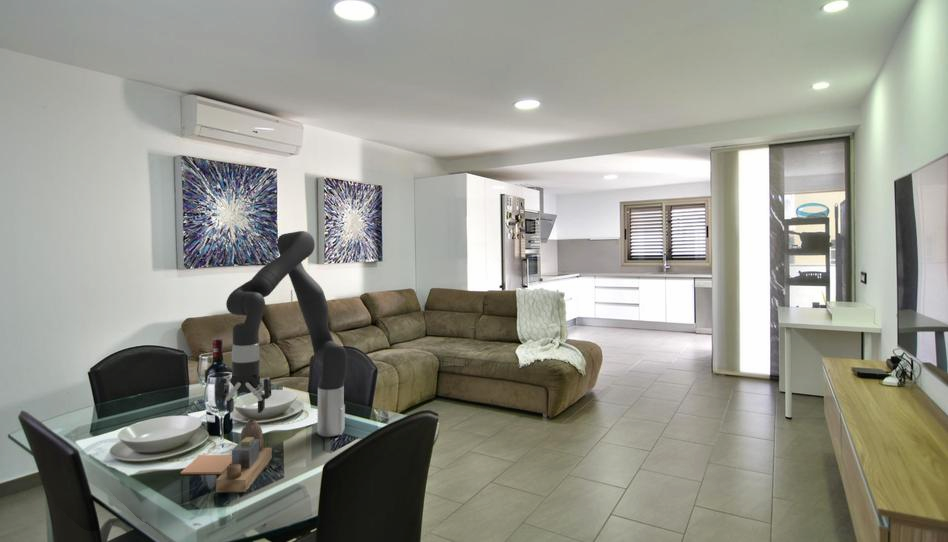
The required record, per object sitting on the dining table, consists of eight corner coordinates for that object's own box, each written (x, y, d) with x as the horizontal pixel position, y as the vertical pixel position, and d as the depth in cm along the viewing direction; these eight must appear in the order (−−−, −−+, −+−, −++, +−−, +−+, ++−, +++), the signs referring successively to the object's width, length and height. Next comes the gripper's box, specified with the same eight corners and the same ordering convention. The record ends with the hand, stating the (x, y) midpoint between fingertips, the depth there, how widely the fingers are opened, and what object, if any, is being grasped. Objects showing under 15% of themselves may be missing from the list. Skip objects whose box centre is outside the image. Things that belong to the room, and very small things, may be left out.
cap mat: (237, 456, 163) (237, 455, 163) (221, 474, 151) (221, 472, 151) (199, 457, 162) (199, 455, 162) (180, 474, 150) (180, 472, 150)
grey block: (259, 456, 156) (259, 436, 155) (249, 468, 148) (249, 446, 147) (242, 456, 155) (242, 436, 155) (231, 468, 147) (231, 446, 147)
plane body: (271, 458, 163) (271, 438, 162) (245, 492, 141) (245, 469, 141) (246, 458, 162) (246, 438, 162) (216, 492, 140) (215, 469, 140)
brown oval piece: (244, 441, 175) (244, 417, 175) (265, 441, 176) (265, 417, 175) (237, 450, 168) (237, 424, 168) (258, 449, 169) (258, 424, 168)
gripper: (274, 356, 154) (274, 408, 155) (226, 355, 153) (226, 407, 154) (265, 361, 146) (265, 416, 147) (215, 361, 145) (215, 416, 146)
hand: (245, 412), depth 151 cm, fingers open, 8 cm apart
